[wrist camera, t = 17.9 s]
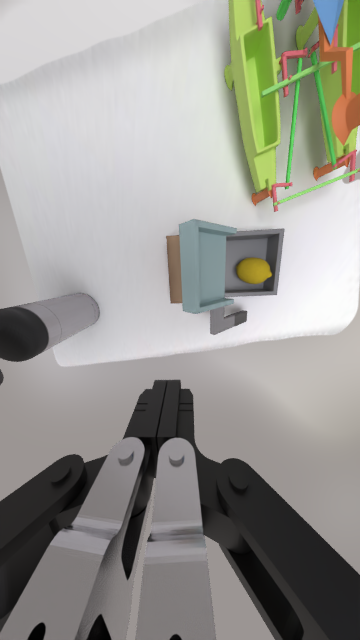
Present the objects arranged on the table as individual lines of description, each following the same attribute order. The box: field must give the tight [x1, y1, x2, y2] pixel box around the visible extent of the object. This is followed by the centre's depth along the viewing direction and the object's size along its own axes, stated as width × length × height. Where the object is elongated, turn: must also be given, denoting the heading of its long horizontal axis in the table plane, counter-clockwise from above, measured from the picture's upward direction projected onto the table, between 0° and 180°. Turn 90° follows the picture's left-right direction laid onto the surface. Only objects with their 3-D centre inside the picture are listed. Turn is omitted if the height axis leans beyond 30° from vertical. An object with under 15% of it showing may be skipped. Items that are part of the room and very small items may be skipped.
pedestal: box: [166, 235, 182, 303], centre depth 37 cm, size 10×13×10 cm
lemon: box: [236, 257, 272, 284], centre depth 37 cm, size 6×6×8 cm
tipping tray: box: [179, 219, 247, 335], centre depth 31 cm, size 19×19×3 cm
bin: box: [225, 229, 284, 297], centre depth 38 cm, size 13×13×6 cm
